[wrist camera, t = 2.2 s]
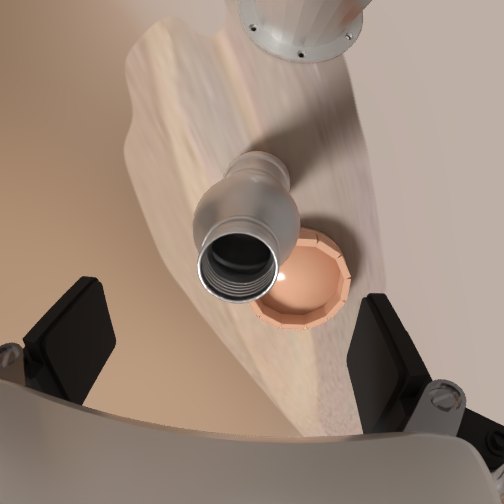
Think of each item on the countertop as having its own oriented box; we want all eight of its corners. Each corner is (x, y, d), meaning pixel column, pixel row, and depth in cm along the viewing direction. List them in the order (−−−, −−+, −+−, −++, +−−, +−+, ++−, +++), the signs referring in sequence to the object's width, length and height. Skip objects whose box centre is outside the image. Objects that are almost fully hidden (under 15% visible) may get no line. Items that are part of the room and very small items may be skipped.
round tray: (246, 224, 34) (244, 234, 31) (353, 230, 33) (360, 240, 30) (244, 313, 38) (242, 328, 36) (337, 317, 38) (341, 331, 35)
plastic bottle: (301, 176, 31) (345, 261, 13) (258, 221, 33) (244, 349, 15) (254, 135, 29) (230, 159, 11) (213, 183, 32) (139, 273, 14)
